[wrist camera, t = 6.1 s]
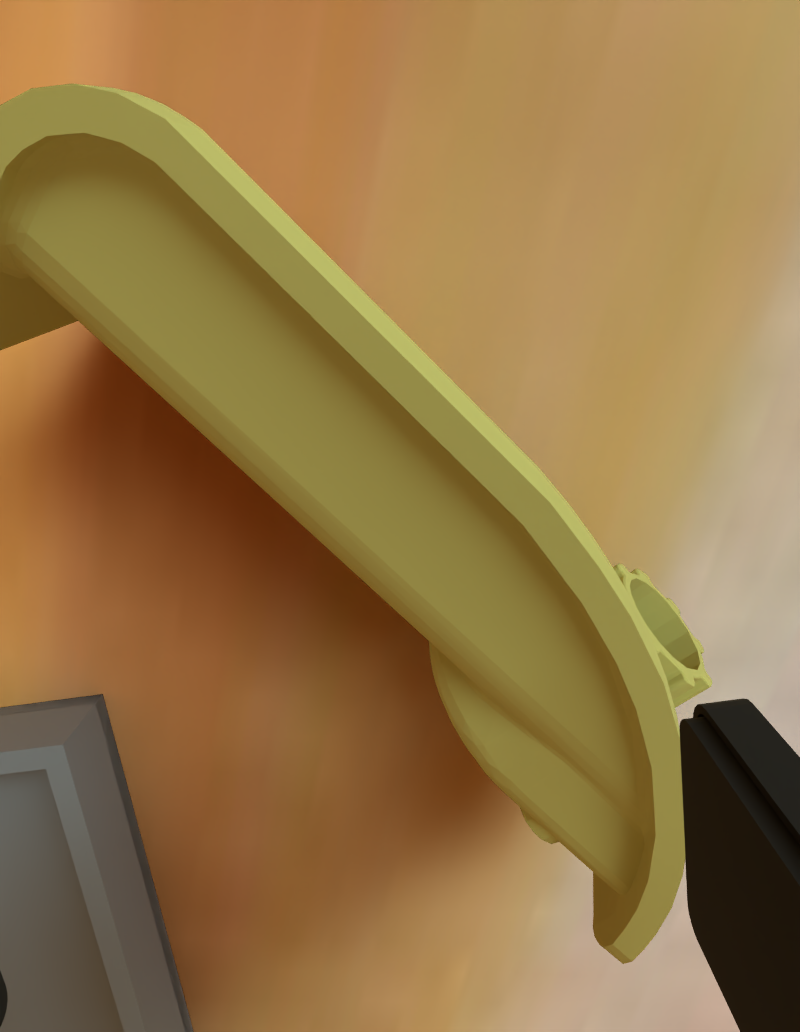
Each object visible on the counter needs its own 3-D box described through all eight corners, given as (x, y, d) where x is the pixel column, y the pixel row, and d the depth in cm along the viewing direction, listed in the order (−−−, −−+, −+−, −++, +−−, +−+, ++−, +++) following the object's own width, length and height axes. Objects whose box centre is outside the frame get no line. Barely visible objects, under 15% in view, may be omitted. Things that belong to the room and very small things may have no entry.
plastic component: (133, 277, 22) (-167, 378, 13) (291, 52, 18) (31, -18, 10) (601, 718, 25) (615, 1032, 16) (806, 597, 22) (959, 910, 13)
